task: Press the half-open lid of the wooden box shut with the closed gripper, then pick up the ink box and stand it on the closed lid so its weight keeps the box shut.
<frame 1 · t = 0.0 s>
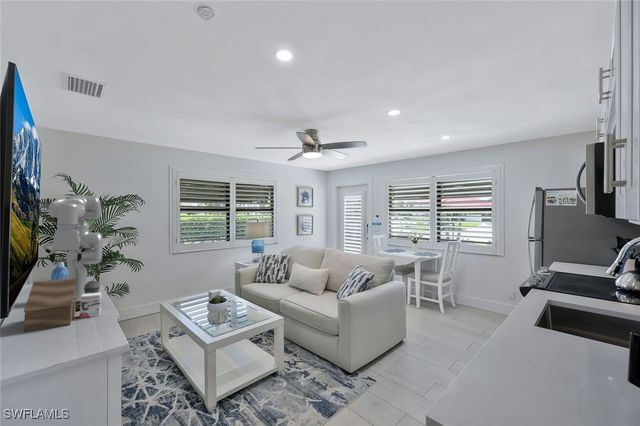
hand: (65, 261, 140), 31 cm above the table, tool pointing down, fingers open, 9 cm apart
beverage cup: (91, 307, 164), on the table
wooden box: (51, 322, 141), on the table
ink box: (90, 316, 151), on the table
lid: (52, 294, 140), point 15 cm above the table, hinge at 35.0°
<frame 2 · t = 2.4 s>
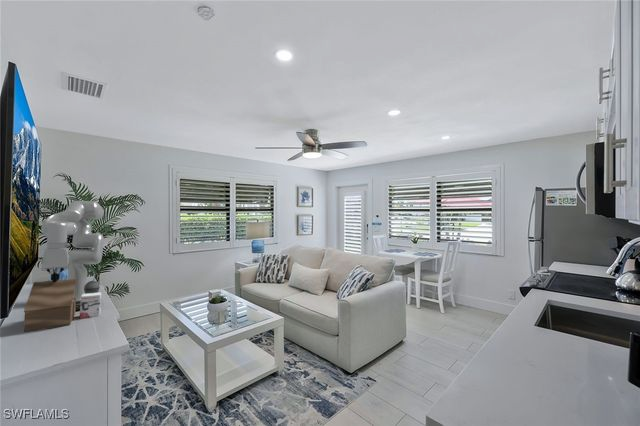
hand: (55, 281, 145), 20 cm above the table, tool pointing down, fingers closed
lid: (52, 294, 140), point 15 cm above the table, hinge at 34.1°
everything else where it was.
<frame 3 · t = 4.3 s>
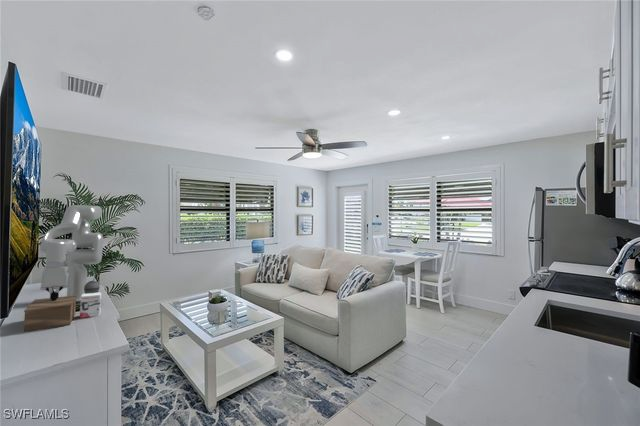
hand: (54, 299, 145), 10 cm above the table, tool pointing down, fingers closed
lid: (52, 303, 141), point 10 cm above the table, hinge at 0.4°, touching gripper
everything else where it was.
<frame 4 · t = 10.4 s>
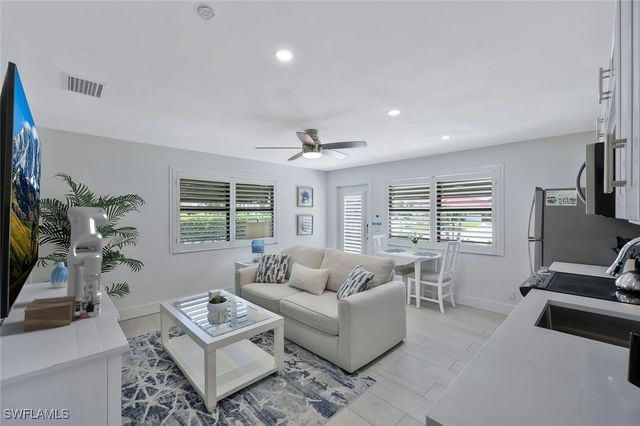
hand: (90, 310, 152), 3 cm above the table, tool pointing down, fingers closed on ink box, 5 cm apart
ink box: (90, 316, 151), on the table, touching gripper
lid: (52, 303, 141), point 10 cm above the table, hinge at 0.3°
everything else where it was.
when the fingers open (14 cm above the table, at t = 16.0 s): ink box drops 1 cm, resting on lid.
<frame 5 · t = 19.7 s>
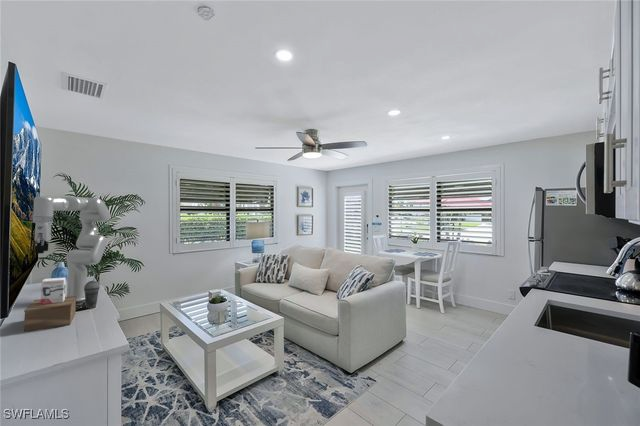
hand: (41, 252, 147), 34 cm above the table, tool pointing down, fingers open, 9 cm apart
ink box: (52, 302, 141), point 10 cm above the table, touching lid
lid: (52, 303, 141), point 10 cm above the table, hinge at -0.3°, touching ink box
everything else where it was.
at the end: lid at +0° (first picture: +35°); ink box inside the target area (0.1 cm from its centre), point 9.9 cm above the table; ink box tilted 0° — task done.
